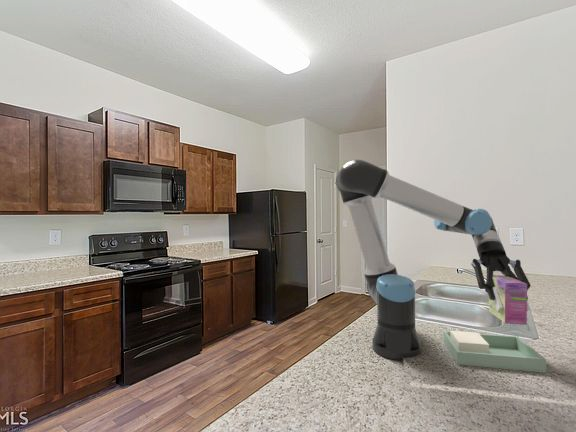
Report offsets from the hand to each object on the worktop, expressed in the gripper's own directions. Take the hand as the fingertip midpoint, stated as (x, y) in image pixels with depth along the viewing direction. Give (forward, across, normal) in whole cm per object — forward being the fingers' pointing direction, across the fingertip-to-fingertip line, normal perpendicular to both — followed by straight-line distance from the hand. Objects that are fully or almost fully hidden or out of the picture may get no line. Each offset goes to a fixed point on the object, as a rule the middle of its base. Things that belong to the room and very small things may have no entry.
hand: (512, 309), depth 86 cm
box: (0, 0, -5) cm, 5 cm away
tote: (+9, +5, -14) cm, 17 cm away
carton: (+8, +10, -13) cm, 19 cm away
